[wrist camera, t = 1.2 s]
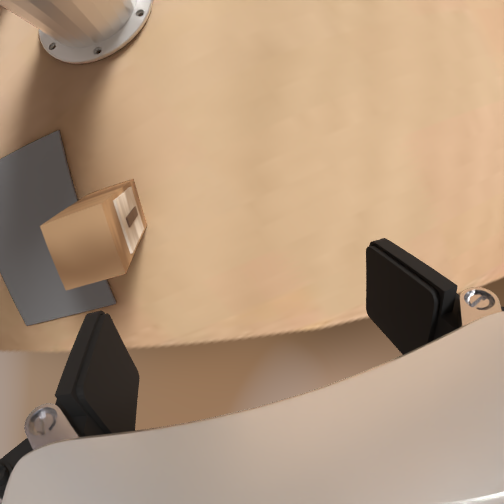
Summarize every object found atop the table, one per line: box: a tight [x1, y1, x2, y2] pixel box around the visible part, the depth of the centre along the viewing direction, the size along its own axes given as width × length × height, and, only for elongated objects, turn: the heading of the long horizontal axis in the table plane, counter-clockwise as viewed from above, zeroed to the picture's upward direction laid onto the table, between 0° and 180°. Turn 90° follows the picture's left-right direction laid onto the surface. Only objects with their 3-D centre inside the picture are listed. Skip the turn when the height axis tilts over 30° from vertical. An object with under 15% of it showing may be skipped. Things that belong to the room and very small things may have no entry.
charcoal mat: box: [0, 130, 116, 326], centre depth 28 cm, size 20×14×1 cm
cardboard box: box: [40, 179, 147, 290], centre depth 24 cm, size 5×5×12 cm
